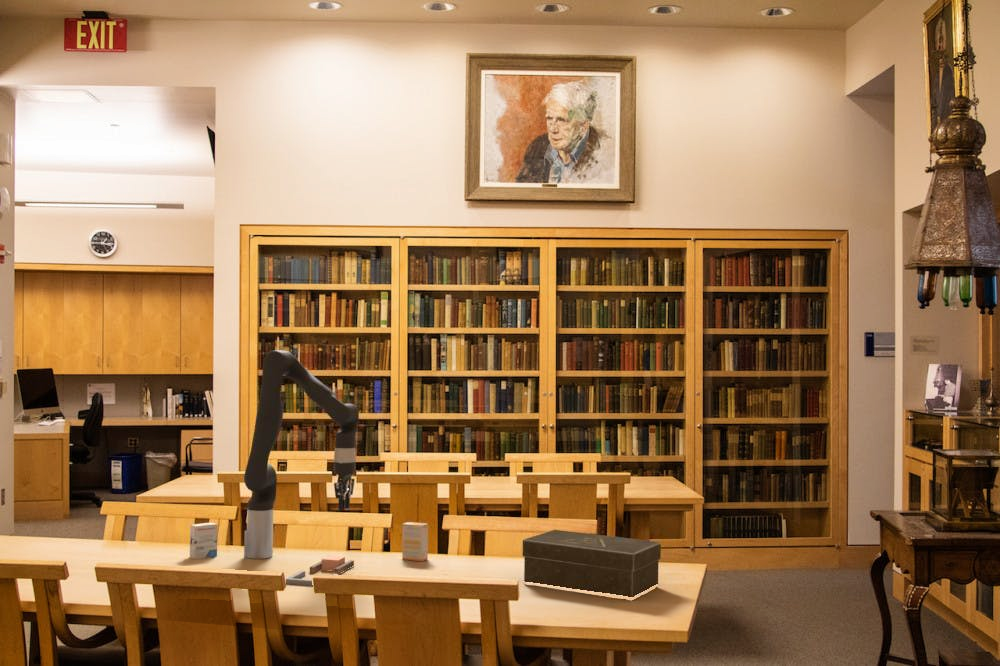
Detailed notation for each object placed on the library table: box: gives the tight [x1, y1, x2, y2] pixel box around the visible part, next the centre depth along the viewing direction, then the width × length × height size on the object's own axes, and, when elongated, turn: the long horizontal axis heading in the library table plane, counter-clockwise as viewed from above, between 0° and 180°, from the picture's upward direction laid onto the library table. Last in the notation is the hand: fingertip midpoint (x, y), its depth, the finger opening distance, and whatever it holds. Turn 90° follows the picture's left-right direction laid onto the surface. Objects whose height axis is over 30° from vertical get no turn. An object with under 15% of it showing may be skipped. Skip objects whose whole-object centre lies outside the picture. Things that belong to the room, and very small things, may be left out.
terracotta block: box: [320, 555, 346, 572], centre depth 349 cm, size 6×6×4 cm
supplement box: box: [401, 521, 429, 562], centre depth 367 cm, size 8×5×13 cm, turn 65°
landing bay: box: [285, 570, 338, 587], centre depth 332 cm, size 13×12×2 cm
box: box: [521, 529, 662, 597], centre depth 330 cm, size 22×39×15 cm, turn 59°
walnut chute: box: [309, 559, 355, 575], centre depth 348 cm, size 10×14×2 cm
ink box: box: [189, 522, 219, 560], centre depth 366 cm, size 9×5×12 cm, turn 129°
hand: (344, 509), depth 358 cm, fingers open, 3 cm apart
